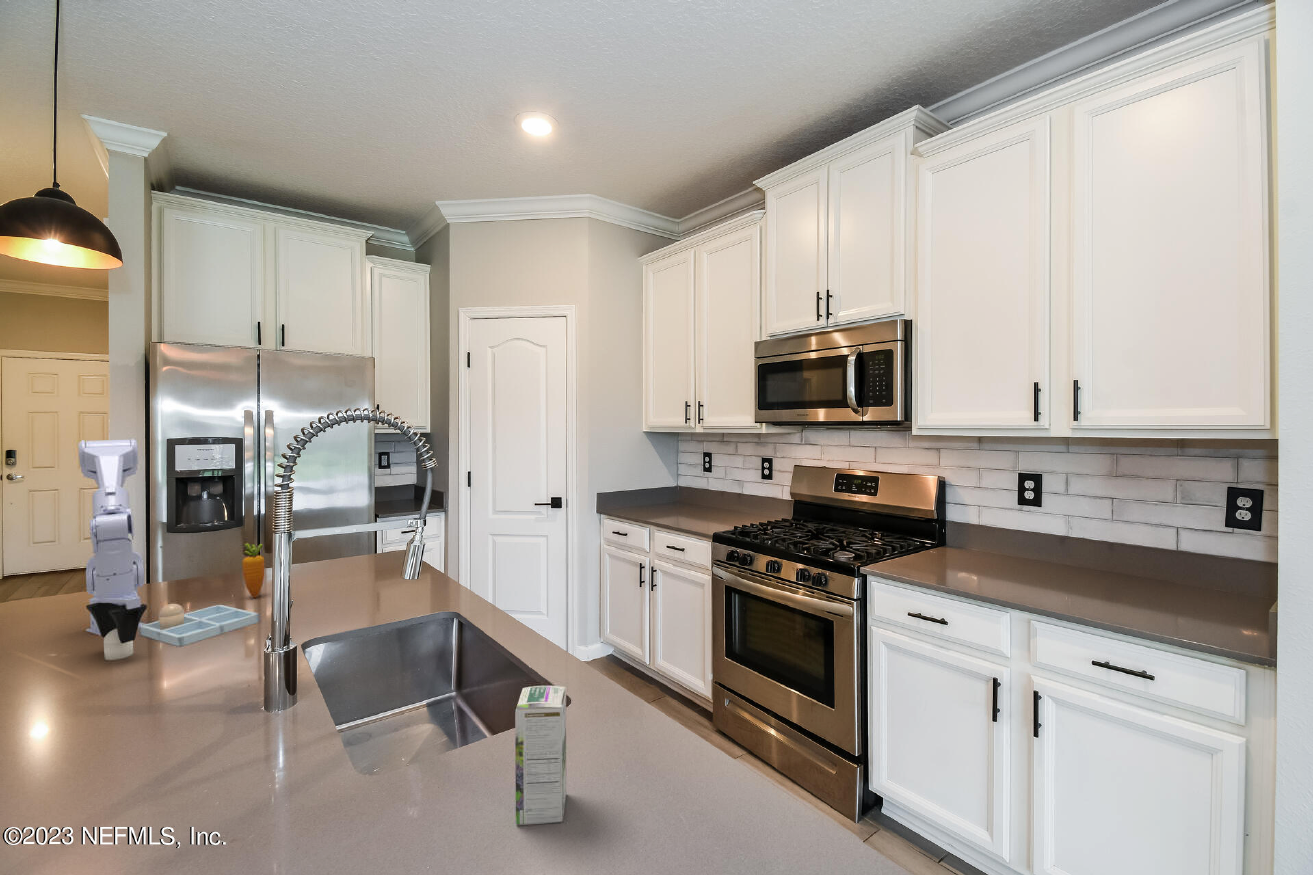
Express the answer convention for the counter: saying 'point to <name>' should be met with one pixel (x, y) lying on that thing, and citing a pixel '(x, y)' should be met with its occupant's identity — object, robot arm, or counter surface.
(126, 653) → the cream egg
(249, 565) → the carrot
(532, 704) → the syrup box
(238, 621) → the divided tray
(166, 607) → the brown egg
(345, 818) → the counter surface
